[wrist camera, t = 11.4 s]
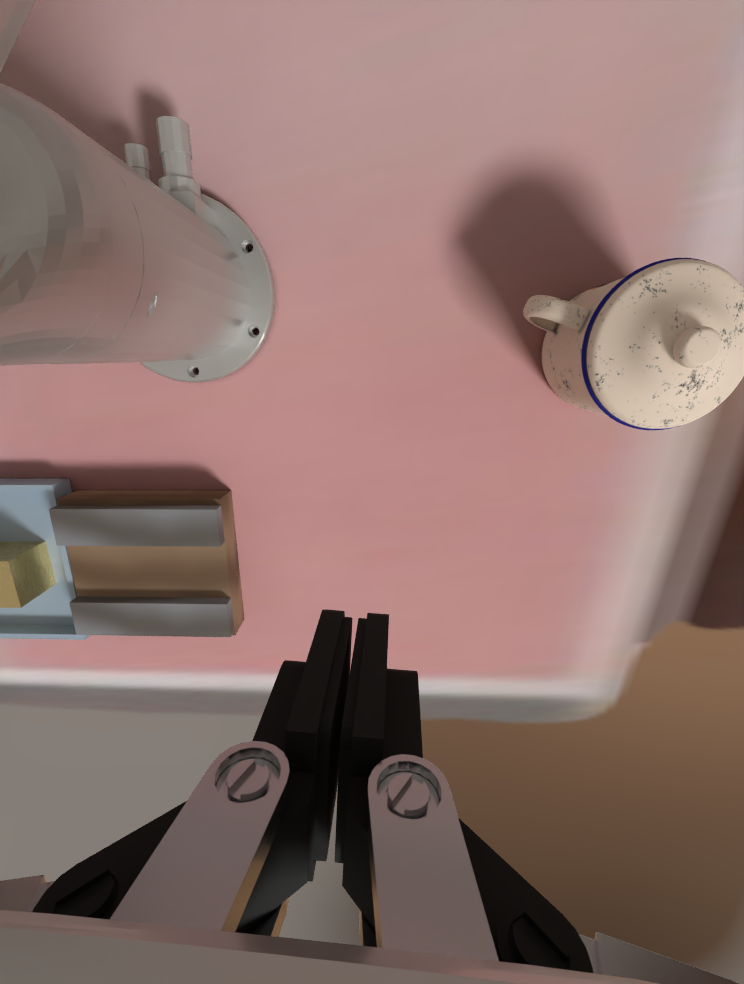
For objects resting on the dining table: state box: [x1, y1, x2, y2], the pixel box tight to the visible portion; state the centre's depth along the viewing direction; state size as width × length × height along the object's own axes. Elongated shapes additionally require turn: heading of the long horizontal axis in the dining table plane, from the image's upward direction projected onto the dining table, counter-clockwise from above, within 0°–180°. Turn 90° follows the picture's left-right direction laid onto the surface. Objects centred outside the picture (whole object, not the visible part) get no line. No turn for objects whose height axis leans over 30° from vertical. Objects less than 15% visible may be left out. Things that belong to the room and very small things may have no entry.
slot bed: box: [49, 490, 244, 637], centre depth 38 cm, size 12×13×4 cm
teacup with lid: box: [523, 258, 744, 430], centre depth 28 cm, size 12×9×12 cm
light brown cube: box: [0, 541, 56, 608], centre depth 38 cm, size 4×4×4 cm
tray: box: [0, 479, 90, 640], centre depth 39 cm, size 14×12×2 cm
